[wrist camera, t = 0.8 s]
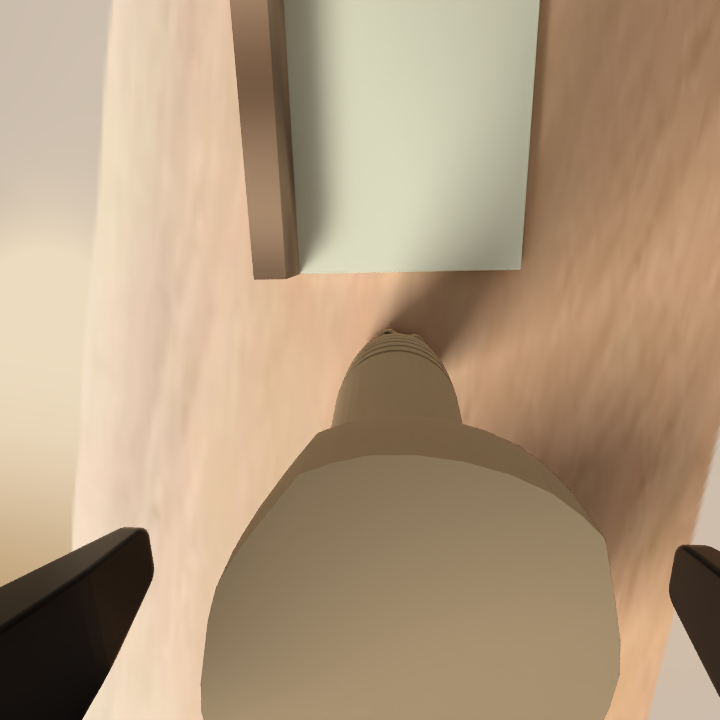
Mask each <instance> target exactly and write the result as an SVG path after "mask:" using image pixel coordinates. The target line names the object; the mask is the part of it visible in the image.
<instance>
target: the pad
mask: <svg viewBox="0 0 720 720" xmlns="http://www.w3.org/2000/svg"><path fill="white" fill-rule="evenodd" d="M539 4H540V0H284V16H285V33H286V50H287V67H288V84H289V101H290V118H291V135H292V152H293V169H294V185H295V202H296V219H297V236H298V253H299V270H300V274H320V273H374V272H427V271H481V270H521V258H522V244H523V230H524V215H525V201H526V187H527V173H528V159H529V145H530V131H531V117H532V102H533V88H534V74H535V60H536V46H537V32H538V18H539Z"/></svg>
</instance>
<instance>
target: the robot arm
mask: <svg viewBox="0 0 720 720" xmlns="http://www.w3.org/2000/svg"><path fill="white" fill-rule="evenodd" d="M153 574H154V563H153V557H152V551H151V545H150V539H149V534H148V532H147V530H146V529H144V528H134V527H123V528H120V529H118V530H116V531H114V532H112V533H109V534H107V535H105V536H103V537H101V538H99V539H97V540H95V541H93V542H91V543H89V544H87V545H85V546H83V547H81V548H79V549H77V550H75V551H73V552H71V553H69V554H67V555H65V556H63V557H61V558H59V559H57V560H55V561H53V562H51V563H48V564H46V565H44V566H43V567H41V568H38V569H36V570H34V571H32V572H30V573H28V574H26V575H24V576H22V577H20V578H18V579H16V580H14V581H12V582H10V583H8V584H6V585H4V586H2V587H0V720H82V719H83V717H84V715H85V714H86V712H87V710H88V708H89V707H90V705H91V703H92V702H93V700H94V698H95V696H96V695H97V693H98V691H99V689H100V688H101V686H102V684H103V682H104V680H105V678H106V677H107V675H108V673H109V671H110V669H111V667H112V665H113V663H114V661H115V659H116V657H117V655H118V653H119V651H120V649H121V647H122V644H123V642H124V640H125V638H126V636H127V634H128V631H129V629H130V627H131V625H132V623H133V621H134V618H135V616H136V614H137V612H138V610H139V608H140V606H141V603H142V601H143V599H144V597H145V595H146V593H147V590H148V588H149V586H150V584H151V581H152V578H153ZM669 594H670V598H671V601H672V604H673V606H674V608H675V610H676V612H677V614H678V616H679V618H680V620H681V622H682V624H683V626H684V628H685V630H686V632H687V634H688V636H689V638H690V640H691V642H692V644H693V645H694V648H695V650H696V651H697V653H698V656H699V658H700V660H701V661H702V663H703V665H704V667H705V669H706V671H707V673H708V675H709V677H710V679H711V681H712V683H713V685H714V687H715V689H716V691H717V693H718V695H719V697H720V551H718V550H716V549H714V548H712V547H709V546H705V545H681V546H679V547H678V548H677V550H676V552H675V557H674V562H673V567H672V573H671V578H670V584H669Z"/></svg>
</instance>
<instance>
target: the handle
mask: <svg viewBox="0 0 720 720" xmlns="http://www.w3.org/2000/svg"><path fill="white" fill-rule="evenodd" d="M619 675H620V633H619V626H618V618H617V610H616V603H615V596H614V590H613V584H612V578H611V572H610V566H609V560H608V554H607V548H606V542H605V538H604V537H603V535H602V534H601V532H600V531H599V529H598V528H597V527H596V525H595V524H594V522H593V521H592V519H591V518H590V517H589V515H588V514H587V512H586V511H585V509H584V508H583V507H582V505H581V504H580V503H579V501H578V500H577V499H576V497H575V496H574V495H573V493H572V492H571V491H570V490H569V489H568V488H567V487H566V486H565V485H564V484H563V483H562V482H561V481H560V480H559V479H558V478H557V477H556V476H555V475H554V474H553V473H552V472H551V471H550V470H549V469H548V468H547V467H546V466H545V465H544V464H543V463H541V462H540V461H539V460H537V459H536V458H535V457H533V456H532V455H531V454H529V453H528V452H527V451H525V450H524V449H523V448H521V447H520V446H518V445H516V444H514V443H511V442H509V441H507V440H505V439H503V438H500V437H498V436H496V435H494V434H492V433H490V432H487V431H485V430H481V429H478V428H474V427H471V426H467V425H463V424H462V420H461V415H460V410H459V406H458V401H457V396H456V393H455V390H454V388H453V385H452V382H451V380H450V378H449V375H448V373H447V371H446V369H445V367H444V365H443V364H442V362H441V361H440V359H439V358H438V356H437V355H436V354H435V353H434V351H433V350H432V349H431V348H430V347H429V346H428V345H426V341H425V340H424V339H423V338H422V337H421V336H419V335H418V334H416V333H413V334H408V335H407V334H401V333H398V332H396V331H394V330H393V329H391V328H390V329H386V330H383V331H381V332H380V334H379V337H378V338H376V339H374V340H372V341H371V342H369V343H368V344H367V345H365V346H364V348H363V349H362V350H361V351H360V352H359V353H358V354H357V356H356V357H355V359H354V360H353V362H352V364H351V365H350V367H349V369H348V371H347V373H346V375H345V378H344V380H343V383H342V385H341V388H340V390H339V393H338V397H337V400H336V406H335V411H334V416H333V421H332V426H331V428H330V429H327V430H324V431H322V432H319V433H318V434H317V435H316V436H315V437H314V438H313V439H312V440H311V442H310V443H309V444H308V445H307V446H306V448H305V449H304V450H303V451H302V452H301V454H300V455H299V456H298V457H297V459H296V460H295V461H294V462H293V464H292V465H291V466H290V468H289V469H288V470H287V471H286V473H285V474H284V475H283V476H282V478H281V479H280V481H279V482H278V483H277V485H276V486H275V487H274V489H273V490H272V491H271V493H270V494H269V495H268V497H267V498H266V500H265V501H264V502H263V504H262V505H261V506H260V508H259V509H258V511H257V512H256V514H255V515H254V517H253V519H252V520H251V522H250V523H249V525H248V527H247V528H246V530H245V531H244V533H243V535H242V536H241V538H240V540H239V542H238V543H237V545H236V547H235V549H234V550H233V552H232V555H231V557H230V559H229V561H228V563H227V565H226V567H225V570H224V572H223V574H222V576H221V578H220V580H219V583H218V585H217V587H216V590H215V594H214V598H213V602H212V606H211V610H210V614H209V618H208V624H207V633H206V642H205V650H204V659H203V668H202V677H201V712H202V715H203V719H204V720H604V718H605V716H606V714H607V712H608V710H609V707H610V704H611V701H612V698H613V695H614V691H615V688H616V685H617V682H618V679H619Z"/></svg>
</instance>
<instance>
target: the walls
mask: <svg viewBox="0 0 720 720" xmlns="http://www.w3.org/2000/svg"><path fill="white" fill-rule="evenodd" d="M230 7H231V19H232V30H233V42H234V53H235V65H236V77H237V88H238V100H239V111H240V123H241V135H242V146H243V158H244V169H245V181H246V193H247V204H248V216H249V227H250V239H251V251H252V262H253V274H254V280H256V279H287V278H290V277H293V276H295V275H298V274H300V270H299V253H298V236H297V219H296V202H295V185H294V169H293V152H292V135H291V118H290V101H289V84H288V67H287V50H286V33H285V16H284V0H230Z"/></svg>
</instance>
